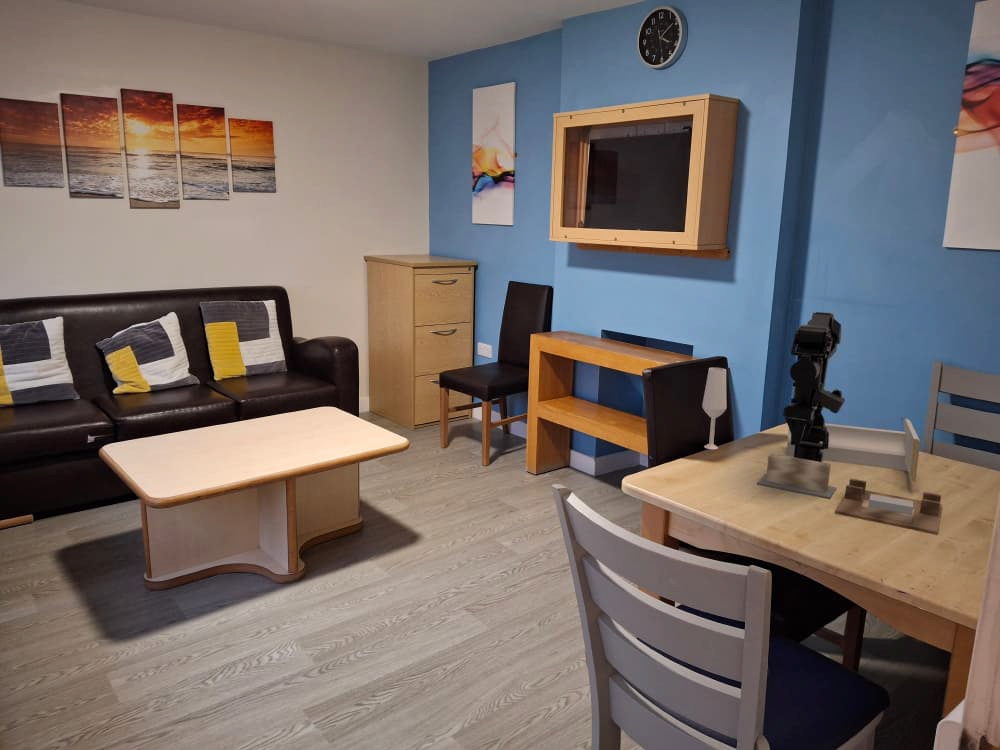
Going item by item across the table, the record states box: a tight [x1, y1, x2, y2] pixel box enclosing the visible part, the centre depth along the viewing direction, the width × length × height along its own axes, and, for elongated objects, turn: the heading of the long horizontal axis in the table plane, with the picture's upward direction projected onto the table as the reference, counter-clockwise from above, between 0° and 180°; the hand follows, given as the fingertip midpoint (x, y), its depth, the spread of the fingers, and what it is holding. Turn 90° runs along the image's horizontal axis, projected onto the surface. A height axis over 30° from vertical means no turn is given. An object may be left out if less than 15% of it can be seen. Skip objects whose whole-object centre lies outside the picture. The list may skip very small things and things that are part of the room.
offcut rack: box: [834, 478, 943, 535], centre depth 165 cm, size 20×20×4 cm
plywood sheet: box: [766, 453, 832, 493], centre depth 179 cm, size 14×3×6 cm, turn 56°
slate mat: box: [756, 473, 837, 500], centre depth 180 cm, size 17×9×1 cm, turn 56°
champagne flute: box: [701, 367, 727, 450], centre depth 208 cm, size 7×7×24 cm
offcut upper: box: [869, 494, 913, 515], centre depth 159 cm, size 8×4×2 cm, turn 60°
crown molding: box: [785, 422, 908, 472], centre depth 200 cm, size 31×12×4 cm
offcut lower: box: [860, 500, 914, 524], centre depth 160 cm, size 10×5×2 cm, turn 56°
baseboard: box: [900, 418, 921, 482], centre depth 191 cm, size 31×3×12 cm, turn 154°
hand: (801, 440), depth 177 cm, fingers open, 9 cm apart
